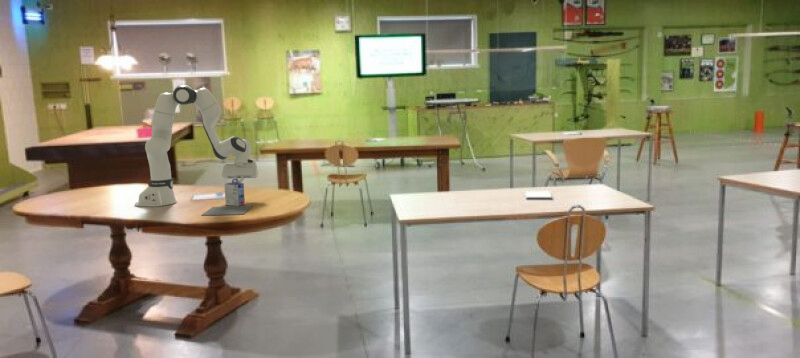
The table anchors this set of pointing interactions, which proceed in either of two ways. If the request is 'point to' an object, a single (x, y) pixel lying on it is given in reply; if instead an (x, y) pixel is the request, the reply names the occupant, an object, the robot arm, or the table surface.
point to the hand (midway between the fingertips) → (238, 183)
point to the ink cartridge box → (234, 193)
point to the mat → (227, 210)
